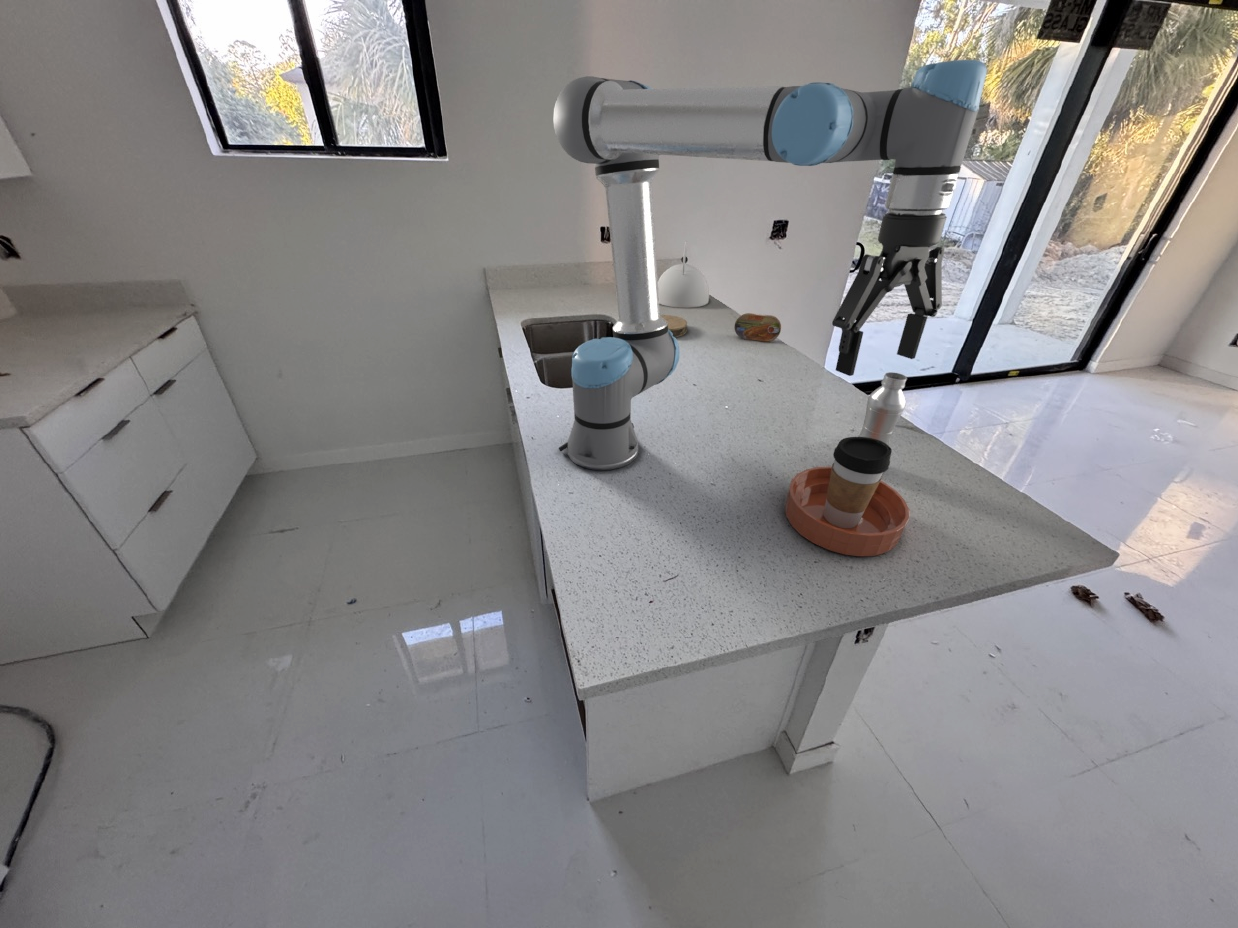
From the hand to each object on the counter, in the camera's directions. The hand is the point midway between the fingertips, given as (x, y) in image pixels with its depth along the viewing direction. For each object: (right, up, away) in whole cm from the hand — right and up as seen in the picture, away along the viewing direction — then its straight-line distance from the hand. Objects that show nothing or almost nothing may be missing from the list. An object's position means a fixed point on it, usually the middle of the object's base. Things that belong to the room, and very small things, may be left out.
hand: (875, 364), depth 76 cm
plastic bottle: (+11, -16, +26) cm, 32 cm away
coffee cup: (-1, -25, +11) cm, 27 cm away
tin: (+6, +27, +89) cm, 93 cm away
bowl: (-1, -26, +11) cm, 28 cm away
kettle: (-14, +54, +129) cm, 141 cm away
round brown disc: (-24, +32, +96) cm, 104 cm away
